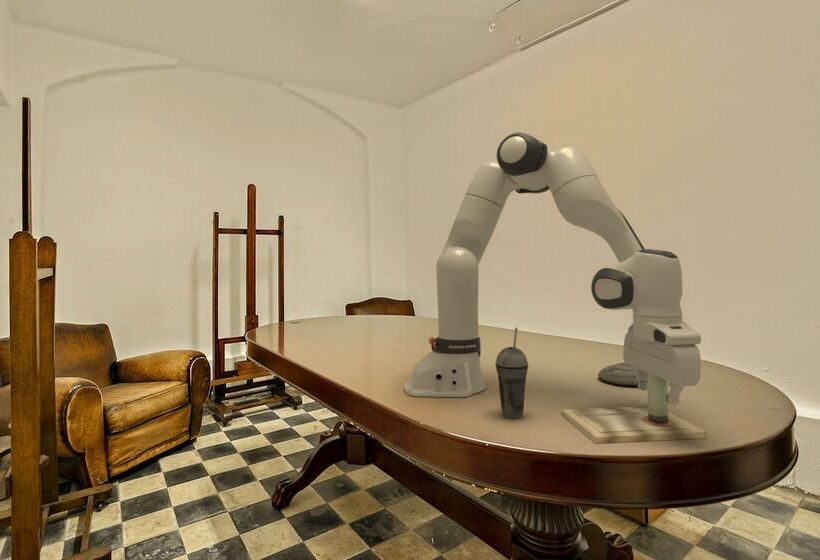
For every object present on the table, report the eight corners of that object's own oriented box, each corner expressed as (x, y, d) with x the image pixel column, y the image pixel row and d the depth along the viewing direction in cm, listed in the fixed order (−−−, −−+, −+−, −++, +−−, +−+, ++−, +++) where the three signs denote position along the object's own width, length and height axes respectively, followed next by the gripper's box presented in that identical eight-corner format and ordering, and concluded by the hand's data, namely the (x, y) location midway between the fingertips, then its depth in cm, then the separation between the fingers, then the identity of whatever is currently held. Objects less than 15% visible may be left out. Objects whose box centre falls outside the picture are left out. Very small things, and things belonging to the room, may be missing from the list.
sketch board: (595, 443, 84) (595, 435, 84) (561, 415, 100) (561, 408, 100) (706, 438, 86) (706, 430, 86) (655, 410, 102) (655, 404, 102)
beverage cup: (492, 411, 104) (490, 326, 103) (522, 409, 105) (521, 324, 104) (501, 422, 97) (499, 330, 96) (534, 420, 97) (532, 329, 97)
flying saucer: (605, 388, 121) (605, 368, 121) (592, 374, 136) (591, 356, 135) (665, 389, 118) (665, 369, 118) (644, 375, 133) (644, 357, 133)
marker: (655, 424, 89) (654, 369, 89) (644, 418, 93) (643, 365, 93) (672, 423, 90) (671, 369, 89) (661, 417, 93) (660, 365, 93)
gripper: (615, 322, 101) (615, 383, 101) (674, 337, 80) (674, 413, 81) (642, 321, 101) (642, 382, 102) (707, 336, 81) (707, 411, 81)
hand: (657, 396), depth 91 cm, fingers open, 8 cm apart
